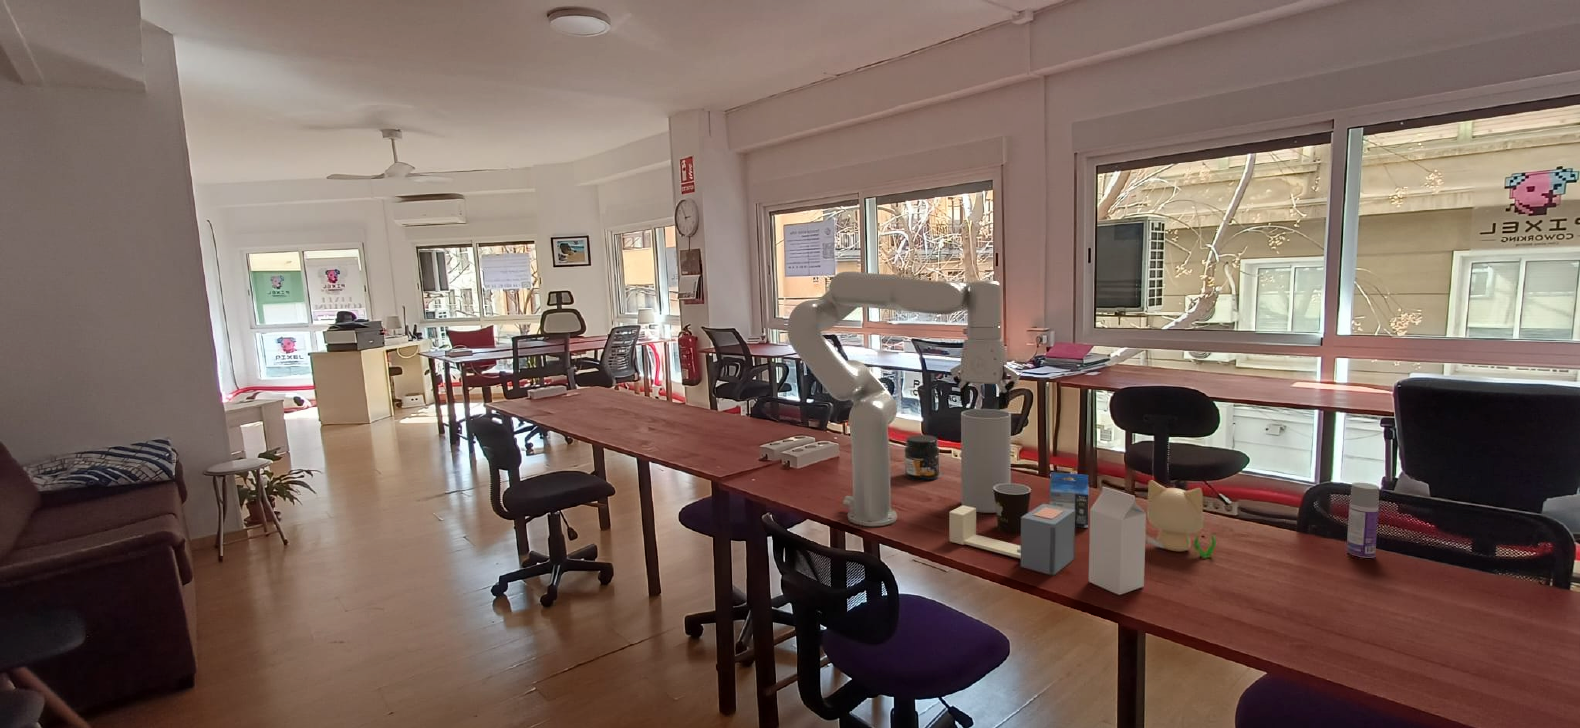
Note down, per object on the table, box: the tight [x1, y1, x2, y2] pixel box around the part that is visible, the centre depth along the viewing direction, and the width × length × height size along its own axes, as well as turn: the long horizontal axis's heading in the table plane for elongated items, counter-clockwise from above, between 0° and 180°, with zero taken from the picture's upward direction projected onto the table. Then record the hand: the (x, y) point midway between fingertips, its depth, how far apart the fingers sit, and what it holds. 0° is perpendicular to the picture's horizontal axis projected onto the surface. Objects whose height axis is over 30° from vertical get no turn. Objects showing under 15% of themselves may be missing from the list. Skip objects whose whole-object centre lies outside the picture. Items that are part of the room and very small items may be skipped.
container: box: [1346, 482, 1380, 559], centre depth 146 cm, size 5×5×15 cm
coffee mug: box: [993, 482, 1032, 535], centre depth 169 cm, size 12×9×10 cm
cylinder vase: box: [960, 408, 1012, 514], centre depth 184 cm, size 12×12×25 cm
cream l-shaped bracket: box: [948, 505, 1021, 560], centre depth 157 cm, size 17×6×7 cm, turn 47°
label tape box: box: [1048, 472, 1090, 529], centre depth 169 cm, size 9×4×12 cm, turn 68°
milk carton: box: [1088, 486, 1147, 596], centre depth 136 cm, size 7×7×19 cm
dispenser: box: [1017, 503, 1076, 577], centre depth 148 cm, size 8×11×11 cm
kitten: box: [1145, 479, 1217, 559], centre depth 152 cm, size 15×10×15 cm
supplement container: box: [904, 434, 940, 481], centre depth 213 cm, size 10×10×12 cm
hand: (984, 406), depth 164 cm, fingers open, 9 cm apart
